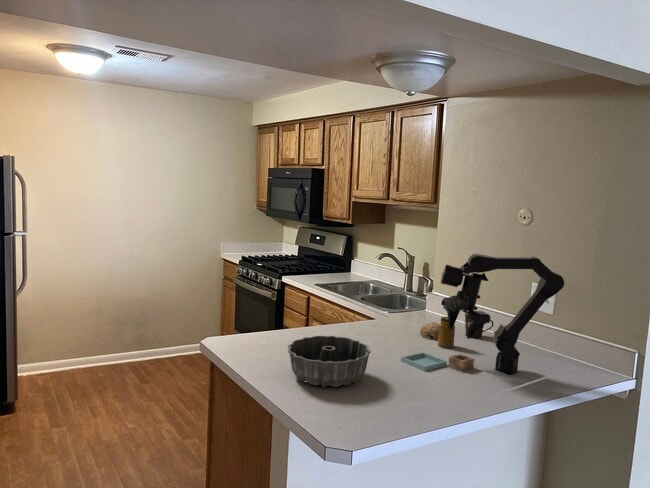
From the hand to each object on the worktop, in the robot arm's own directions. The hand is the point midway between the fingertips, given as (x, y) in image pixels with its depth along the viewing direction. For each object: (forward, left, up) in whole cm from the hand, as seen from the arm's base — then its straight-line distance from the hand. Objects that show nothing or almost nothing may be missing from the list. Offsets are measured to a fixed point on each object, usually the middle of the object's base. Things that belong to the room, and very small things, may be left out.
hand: (459, 333), depth 180 cm
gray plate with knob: (-2, 0, -12) cm, 12 cm away
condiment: (+16, -14, -13) cm, 25 cm away
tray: (+8, +9, -12) cm, 17 cm away
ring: (-2, 0, -12) cm, 12 cm away
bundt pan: (+15, +45, -13) cm, 49 cm away
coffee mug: (+20, -37, -12) cm, 44 cm away
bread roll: (+30, -21, -13) cm, 39 cm away
